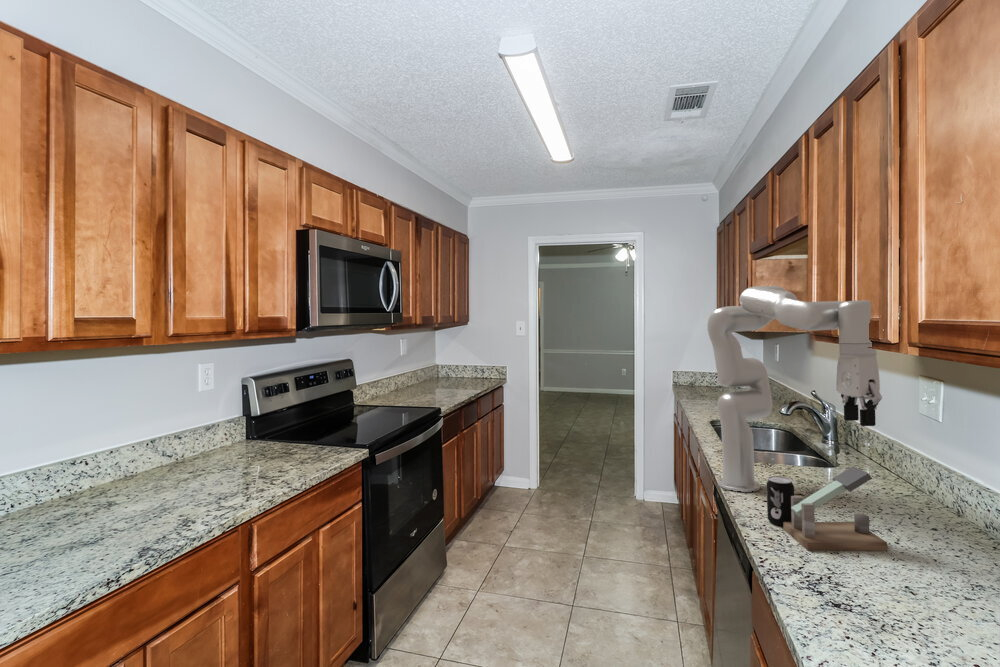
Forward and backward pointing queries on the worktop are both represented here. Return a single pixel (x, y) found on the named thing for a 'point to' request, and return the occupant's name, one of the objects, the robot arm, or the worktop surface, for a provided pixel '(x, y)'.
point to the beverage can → (779, 499)
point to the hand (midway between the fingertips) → (859, 422)
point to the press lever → (835, 488)
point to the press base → (831, 532)
